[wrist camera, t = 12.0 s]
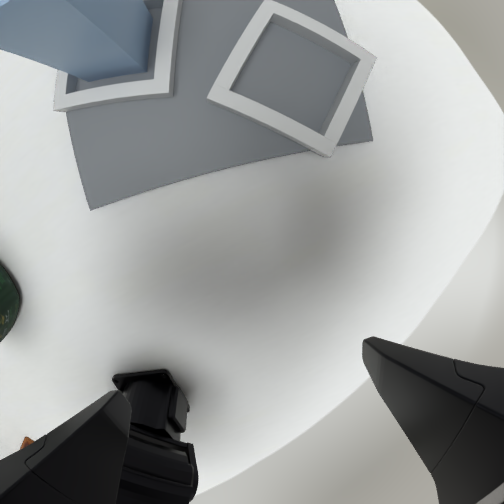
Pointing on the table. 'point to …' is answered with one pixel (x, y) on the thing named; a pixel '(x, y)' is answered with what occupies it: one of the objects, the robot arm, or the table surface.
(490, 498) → the robot arm
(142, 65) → the plug
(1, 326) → the coffee jar
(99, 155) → the panel
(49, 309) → the table surface
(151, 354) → the table surface
